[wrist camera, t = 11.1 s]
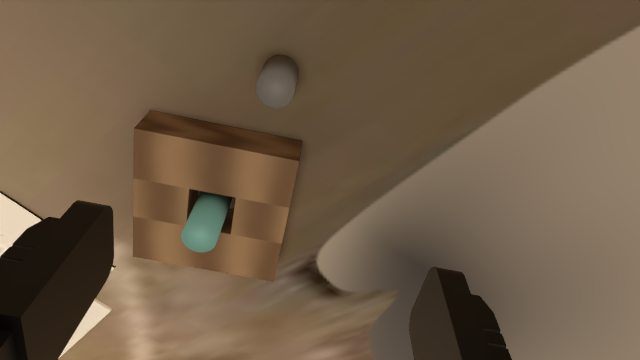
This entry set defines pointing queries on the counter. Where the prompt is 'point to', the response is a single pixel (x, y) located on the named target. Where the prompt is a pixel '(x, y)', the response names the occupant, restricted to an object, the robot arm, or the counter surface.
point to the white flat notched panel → (4, 229)
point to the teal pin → (205, 222)
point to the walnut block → (214, 177)
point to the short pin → (277, 81)
